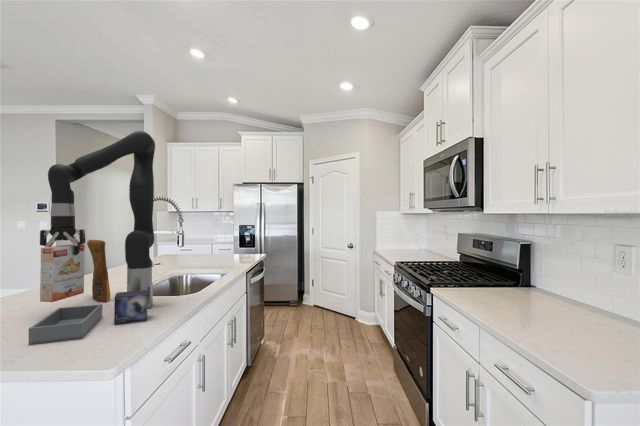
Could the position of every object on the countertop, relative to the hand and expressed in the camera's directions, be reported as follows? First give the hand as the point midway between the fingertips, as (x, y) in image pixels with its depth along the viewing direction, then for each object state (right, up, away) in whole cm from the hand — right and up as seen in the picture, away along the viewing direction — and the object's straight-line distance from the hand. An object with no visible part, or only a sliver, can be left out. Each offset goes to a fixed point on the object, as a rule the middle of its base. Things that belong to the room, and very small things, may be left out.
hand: (63, 255), depth 123 cm
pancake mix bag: (0, -24, +21) cm, 31 cm away
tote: (+16, -23, -16) cm, 33 cm away
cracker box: (0, -17, 0) cm, 17 cm away
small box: (+31, -24, -7) cm, 40 cm away
